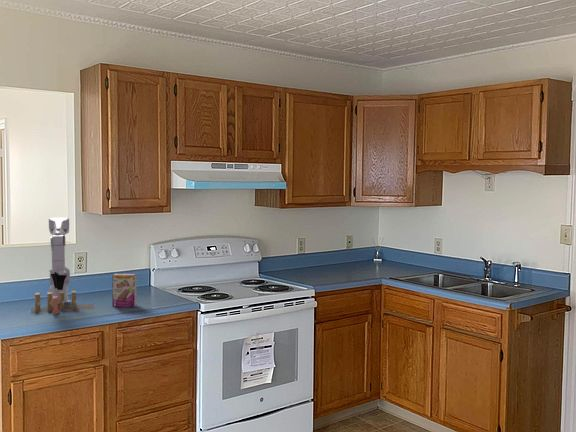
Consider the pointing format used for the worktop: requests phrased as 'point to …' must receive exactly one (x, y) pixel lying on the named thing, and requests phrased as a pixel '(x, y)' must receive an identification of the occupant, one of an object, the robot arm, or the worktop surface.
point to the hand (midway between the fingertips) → (58, 289)
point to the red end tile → (55, 304)
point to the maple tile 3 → (61, 300)
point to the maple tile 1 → (37, 301)
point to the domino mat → (66, 308)
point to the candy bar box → (124, 290)
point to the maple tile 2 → (49, 300)
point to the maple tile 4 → (73, 299)
